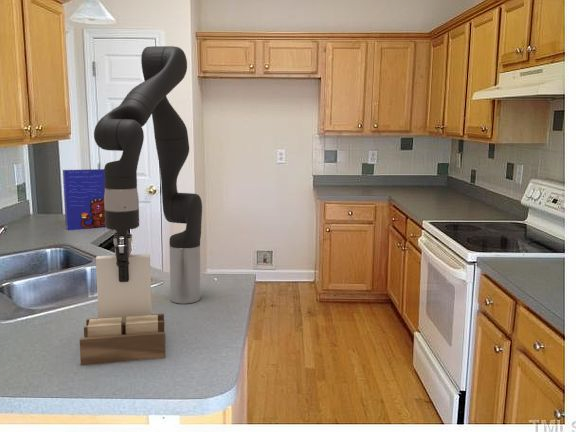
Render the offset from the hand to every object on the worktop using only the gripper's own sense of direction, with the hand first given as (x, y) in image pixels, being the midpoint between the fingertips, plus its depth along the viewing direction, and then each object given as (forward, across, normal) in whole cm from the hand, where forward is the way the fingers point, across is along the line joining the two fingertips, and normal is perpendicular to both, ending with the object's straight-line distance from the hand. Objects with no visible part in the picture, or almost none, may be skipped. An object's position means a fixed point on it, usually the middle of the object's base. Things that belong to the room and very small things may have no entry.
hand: (124, 279), depth 119 cm
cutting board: (+10, 0, 0) cm, 10 cm away
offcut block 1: (+16, -6, +4) cm, 17 cm away
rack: (+17, -4, 0) cm, 18 cm away
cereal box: (+18, +153, +26) cm, 156 cm away
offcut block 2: (+16, -6, -4) cm, 18 cm away
